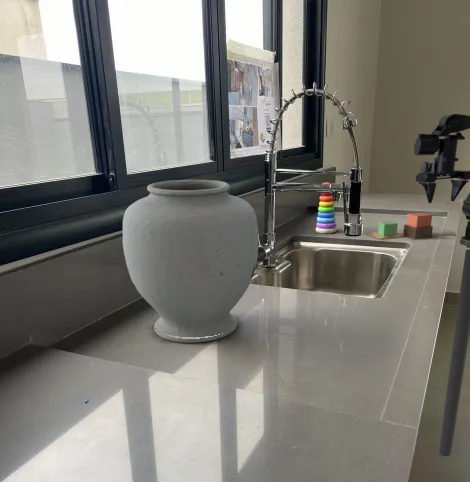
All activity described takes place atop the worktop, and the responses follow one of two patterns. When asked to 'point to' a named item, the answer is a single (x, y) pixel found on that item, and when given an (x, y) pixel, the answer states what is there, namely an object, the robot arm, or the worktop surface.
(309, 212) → the worktop surface
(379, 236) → the cork coaster
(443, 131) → the robot arm
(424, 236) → the walnut block
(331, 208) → the stacking toy
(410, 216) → the terracotta block
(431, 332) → the worktop surface
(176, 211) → the grey vase
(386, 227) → the green block
